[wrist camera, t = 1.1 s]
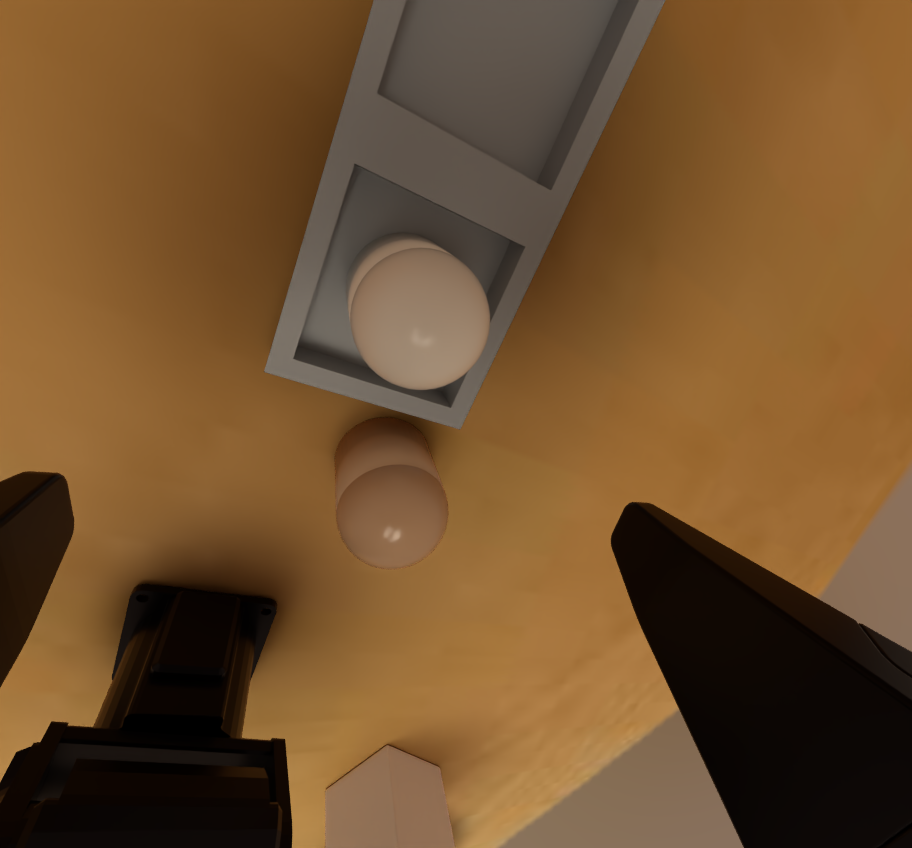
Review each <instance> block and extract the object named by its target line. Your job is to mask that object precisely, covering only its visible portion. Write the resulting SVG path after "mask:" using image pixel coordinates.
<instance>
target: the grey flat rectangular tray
mask: <svg viewBox="0 0 912 848" xmlns="http://www.w3.org/2000/svg"><path fill="white" fill-rule="evenodd" d="M664 2H665V0H374V1H373V5H372V8H371V11H370V15H369V18H368V22H367V25H366V28H365V32H364V35H363V39H362V42H361V45H360V49H359V52H358V55H357V59H356V62H355V66H354V69H353V72H352V76H351V79H350V83H349V86H348V89H347V93H346V96H345V100H344V103H343V106H342V110H341V113H340V116H339V120H338V123H337V127H336V130H335V133H334V137H333V140H332V144H331V147H330V150H329V154H328V157H327V161H326V164H325V167H324V171H323V174H322V177H321V181H320V184H319V188H318V191H317V194H316V198H315V201H314V205H313V208H312V211H311V215H310V218H309V222H308V225H307V228H306V232H305V235H304V238H303V242H302V245H301V249H300V252H299V255H298V259H297V262H296V266H295V269H294V272H293V276H292V279H291V283H290V286H289V289H288V293H287V296H286V299H285V303H284V306H283V310H282V313H281V316H280V320H279V323H278V327H277V330H276V333H275V337H274V340H273V343H272V347H271V350H270V354H269V357H268V360H267V364H266V367H265V371H264V372H266V373H269V374H273V375H276V376H279V377H283V378H286V379H290V380H293V381H296V382H300V383H303V384H307V385H310V386H313V387H317V388H320V389H324V390H327V391H331V392H334V393H337V394H341V395H344V396H348V397H351V398H354V399H358V400H361V401H365V402H368V403H371V404H375V405H378V406H382V407H385V408H388V409H392V410H395V411H399V412H402V413H406V414H409V415H412V416H416V417H419V418H423V419H426V420H429V421H433V422H436V423H440V424H443V425H446V426H450V427H453V428H457V429H461V427H462V425H463V423H464V421H465V419H466V416H467V414H468V412H469V410H470V408H471V406H472V404H473V402H474V400H475V398H476V395H477V393H478V391H479V389H480V387H481V385H482V383H483V381H484V379H485V377H486V375H487V372H488V370H489V368H490V366H491V364H492V362H493V360H494V358H495V356H496V354H497V352H498V349H499V347H500V345H501V343H502V341H503V339H504V337H505V335H506V333H507V331H508V329H509V326H510V324H511V322H512V320H513V318H514V316H515V314H516V312H517V310H518V308H519V305H520V303H521V301H522V299H523V297H524V295H525V293H526V291H527V289H528V287H529V285H530V282H531V280H532V278H533V276H534V274H535V272H536V270H537V268H538V266H539V264H540V262H541V259H542V257H543V255H544V253H545V251H546V249H547V247H548V245H549V243H550V241H551V239H552V236H553V234H554V232H555V230H556V228H557V226H558V224H559V222H560V220H561V218H562V215H563V213H564V211H565V209H566V207H567V205H568V203H569V201H570V199H571V197H572V195H573V192H574V190H575V188H576V186H577V184H578V182H579V180H580V178H581V176H582V174H583V172H584V169H585V167H586V165H587V163H588V161H589V159H590V157H591V155H592V153H593V151H594V149H595V146H596V144H597V142H598V140H599V138H600V136H601V134H602V132H603V130H604V128H605V125H606V123H607V121H608V119H609V117H610V115H611V113H612V111H613V109H614V107H615V105H616V102H617V100H618V98H619V96H620V94H621V92H622V90H623V88H624V86H625V84H626V82H627V79H628V77H629V75H630V73H631V71H632V69H633V67H634V65H635V63H636V61H637V59H638V56H639V54H640V52H641V50H642V48H643V46H644V44H645V42H646V40H647V38H648V35H649V33H650V31H651V29H652V27H653V25H654V23H655V21H656V19H657V17H658V15H659V12H660V10H661V8H662V6H663V4H664ZM392 233H411V234H416V235H419V236H422V237H425V238H426V239H428V240H430V241H432V242H433V243H435V244H436V245H438V246H439V247H441V248H442V249H444V250H445V251H447V252H448V253H450V254H451V255H453V256H454V257H456V258H457V259H459V260H460V261H461V262H463V263H464V264H465V265H466V266H467V267H468V268H469V269H470V270H471V271H472V272H473V273H474V275H475V276H476V277H477V279H478V280H479V282H480V284H481V285H482V287H483V290H484V292H485V294H486V297H487V301H488V305H489V311H490V327H489V335H488V339H487V342H486V345H485V347H484V350H483V352H482V354H481V355H480V357H479V359H478V360H477V362H476V363H475V364H474V365H473V366H472V368H471V369H470V370H469V371H468V372H466V373H465V374H464V375H463V376H462V377H460V378H459V379H457V380H456V381H454V382H452V383H450V384H448V385H445V386H442V387H439V388H435V389H428V390H414V389H408V388H403V387H400V386H397V385H395V384H392V383H390V382H388V381H386V380H385V379H383V378H382V377H380V376H379V375H378V374H376V373H375V372H374V371H373V370H372V369H371V368H370V367H369V366H368V365H367V363H366V362H365V361H364V360H363V358H362V356H361V355H360V353H359V351H358V349H357V347H356V344H355V342H354V339H353V335H352V332H351V325H350V319H349V312H348V306H347V299H346V280H347V276H348V272H349V269H350V267H351V264H352V262H353V261H354V259H355V257H356V256H357V255H358V254H359V252H360V251H361V250H362V249H363V248H364V247H365V246H366V245H368V244H369V243H370V242H372V241H373V240H375V239H377V238H379V237H382V236H384V235H388V234H392Z"/></svg>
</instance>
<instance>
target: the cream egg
mask: <svg viewBox="0 0 912 848" xmlns="http://www.w3.org/2000/svg"><path fill="white" fill-rule="evenodd" d="M346 299H347V306H348V312H349V319H350V325H351V332H352V335H353V339H354V342H355V344H356V347H357V349H358V351H359V353H360V355H361V356H362V358H363V360H364V361H365V362H366V363H367V365H368V366H369V367H370V368H371V369H372V370H373V371H374V372H375V373H376V374H378V375H379V376H380V377H382V378H383V379H385V380H386V381H388V382H390V383H392V384H395V385H397V386H400V387H403V388H408V389H414V390H428V389H435V388H439V387H442V386H445V385H448V384H450V383H452V382H454V381H456V380H457V379H459V378H460V377H462V376H463V375H464V374H465V373H466V372H468V371H469V370H470V369H471V368H472V366H473V365H474V364H475V363H476V362H477V360H478V359H479V357H480V355H481V354H482V352H483V350H484V347H485V345H486V342H487V339H488V335H489V327H490V311H489V305H488V301H487V297H486V294H485V292H484V290H483V287H482V285H481V284H480V282H479V280H478V279H477V277H476V276H475V275H474V273H473V272H472V271H471V270H470V269H469V268H468V267H467V266H466V265H465V264H464V263H463V262H461V261H460V260H459V259H457V258H456V257H454V256H453V255H451V254H450V253H448V252H447V251H445V250H444V249H442V248H441V247H439V246H438V245H436V244H435V243H433V242H432V241H430V240H428V239H426V238H425V237H422V236H419V235H416V234H411V233H392V234H388V235H384V236H382V237H379V238H377V239H375V240H373V241H372V242H370V243H369V244H368V245H366V246H365V247H364V248H363V249H362V250H361V251H360V252H359V254H358V255H357V256H356V257H355V259H354V261H353V262H352V264H351V267H350V269H349V272H348V276H347V280H346Z"/></svg>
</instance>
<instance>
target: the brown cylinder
mask: <svg viewBox="0 0 912 848" xmlns="http://www.w3.org/2000/svg"><path fill="white" fill-rule="evenodd" d="M335 490H336V520H337V526H338V530H339V533H340V536H341V538H342V540H343V542H344V544H345V545H346V547H347V548H348V549H349V550H350V552H351V553H352V554H353V555H354V556H356V557H357V558H358V559H359V560H361V561H362V562H364V563H366V564H368V565H370V566H373V567H376V568H381V569H401V568H406V567H409V566H412V565H414V564H416V563H418V562H420V561H421V560H423V559H424V558H426V557H427V556H428V555H429V554H430V553H431V552H432V551H433V550H434V549H435V548H436V547H437V545H438V544H439V542H440V541H441V539H442V537H443V535H444V532H445V530H446V526H447V522H448V502H447V497H446V493H445V491H444V488H443V485H442V483H441V480H440V477H439V474H438V472H437V469H436V466H435V464H434V461H433V458H432V456H431V453H430V450H429V447H428V445H427V442H426V440H425V438H424V436H423V435H422V434H421V432H420V431H419V430H418V429H417V428H416V427H414V426H413V425H411V424H410V423H408V422H406V421H403V420H400V419H396V418H388V417H383V418H374V419H370V420H367V421H364V422H362V423H360V424H358V425H356V426H355V427H353V428H352V429H351V430H349V431H348V432H347V433H346V434H345V435H344V437H343V438H342V439H341V441H340V442H339V445H338V447H337V449H336V453H335Z"/></svg>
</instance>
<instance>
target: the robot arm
mask: <svg viewBox="0 0 912 848" xmlns="http://www.w3.org/2000/svg"><path fill="white" fill-rule="evenodd" d="M73 530H74V516H73V511H72V506H71V500H70V495H69V489H68V484H67V481H66V479H65V477H64V476H63V475H61V474H59V473H51V472H31V471H28V472H22V473H20V474H17V475H15V476H12V477H10V478H8V479H5V480H3V481H1V482H0V687H1V685H2V683H3V682H4V680H5V678H6V677H7V675H8V673H9V671H10V670H11V668H12V666H13V664H14V663H15V661H16V659H17V657H18V655H19V654H20V652H21V650H22V648H23V646H24V644H25V643H26V640H27V638H28V636H29V634H30V632H31V630H32V628H33V625H34V623H35V621H36V619H37V616H38V614H39V612H40V609H41V607H42V605H43V602H44V600H45V598H46V596H47V593H48V591H49V589H50V586H51V584H52V582H53V579H54V577H55V575H56V572H57V570H58V568H59V565H60V563H61V561H62V559H63V556H64V554H65V552H66V549H67V547H68V545H69V542H70V540H71V537H72V534H73ZM611 547H612V550H613V553H614V555H615V558H616V561H617V564H618V567H619V569H620V572H621V575H622V578H623V581H624V583H625V586H626V589H627V592H628V594H629V597H630V600H631V603H632V606H633V608H634V611H635V614H636V616H637V619H638V621H639V624H640V626H641V628H642V630H643V633H644V635H645V637H646V639H647V641H648V643H649V646H650V648H651V650H652V652H653V654H654V656H655V658H656V661H657V663H658V665H659V667H660V669H661V671H662V673H663V676H664V678H665V680H666V682H667V684H668V686H669V688H670V691H671V693H672V695H673V697H674V699H675V701H676V703H677V706H678V708H679V710H680V712H681V714H682V716H683V718H684V721H685V723H686V725H687V727H688V729H689V731H690V733H691V736H692V737H693V740H694V742H695V744H696V746H697V748H698V750H699V753H700V755H701V757H702V759H703V761H704V763H705V766H706V768H707V769H708V772H709V774H710V776H711V778H712V781H713V783H714V784H715V787H716V789H717V791H718V793H719V795H720V797H721V800H722V802H723V804H724V806H725V808H726V810H727V813H728V815H729V817H730V819H731V821H732V823H733V826H734V828H735V830H736V832H737V834H738V836H739V838H740V840H741V843H742V845H743V847H744V848H912V652H911V651H909V650H907V649H906V648H904V647H902V646H900V645H898V644H897V643H895V642H893V641H891V640H889V639H888V638H886V637H884V636H882V635H881V634H879V633H877V632H875V631H873V630H872V629H870V628H868V627H867V626H865V625H863V624H860V623H859V624H858V623H857V622H856V621H855V620H854V619H852V618H850V617H849V616H847V615H845V614H843V613H842V612H840V611H838V610H837V609H835V608H833V607H831V606H830V605H828V604H826V603H824V602H823V601H821V600H819V599H817V598H816V597H814V596H812V595H810V594H809V593H807V592H805V591H803V590H802V589H800V588H798V587H796V586H795V585H793V584H791V583H789V582H788V581H786V580H784V579H782V578H781V577H779V576H777V575H775V574H774V573H772V572H770V571H768V570H767V569H765V568H763V567H761V566H760V565H758V564H756V563H754V562H753V561H751V560H749V559H747V558H746V557H744V556H742V555H740V554H739V553H737V552H735V551H733V550H732V549H730V548H728V547H726V546H725V545H723V544H721V543H719V542H718V541H716V540H714V539H712V538H711V537H709V536H707V535H705V534H704V533H702V532H700V531H698V530H697V529H695V528H693V527H691V526H690V525H688V524H686V523H684V522H683V521H681V520H679V519H677V518H676V517H674V516H672V515H670V514H669V513H667V512H665V511H663V510H662V509H660V508H658V507H656V506H655V505H653V504H650V503H642V502H631V503H629V504H628V505H626V506H625V508H624V510H623V512H622V514H621V516H620V518H619V520H618V522H617V524H616V526H615V528H614V531H613V533H612V536H611ZM141 594H144V595H147V596H143V595H141ZM264 608H269V609H264ZM276 610H277V603H276V601H274V600H273V599H269V598H261V597H252V596H244V595H235V594H227V593H219V592H210V591H202V590H193V589H185V588H176V587H168V586H159V585H151V584H141V585H138V586H136V587H135V588H134V590H133V592H132V594H131V596H130V599H129V604H128V608H127V612H126V617H125V621H124V626H123V630H122V634H121V639H120V643H119V648H118V652H117V656H116V661H115V665H114V670H113V674H112V680H113V681H112V683H111V686H110V688H109V691H108V693H107V695H106V698H105V700H104V702H103V705H102V707H101V710H100V712H99V714H98V717H97V719H96V722H95V724H94V726H93V727H82V726H68V723H67V722H54V721H52V722H51V723H50V725H49V727H48V729H47V731H46V733H45V735H44V736H43V738H42V740H41V742H37V743H33V745H32V746H31V747H28V748H26V749H23V750H20V751H18V752H16V754H15V756H14V758H13V759H12V761H11V763H10V765H9V767H8V769H7V771H6V773H5V774H4V776H3V778H2V780H1V782H0V848H292V816H291V804H290V793H289V781H288V769H287V757H286V745H285V739H277V738H272V739H271V740H258V739H245V738H242V731H243V725H244V718H245V711H246V705H247V698H248V691H249V685H250V680H251V678H252V675H253V673H254V670H255V667H256V665H257V662H258V659H259V657H260V654H261V651H262V649H263V646H264V644H265V641H266V638H267V636H268V633H269V630H270V628H271V625H272V623H273V620H274V617H275V615H276Z"/></svg>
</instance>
